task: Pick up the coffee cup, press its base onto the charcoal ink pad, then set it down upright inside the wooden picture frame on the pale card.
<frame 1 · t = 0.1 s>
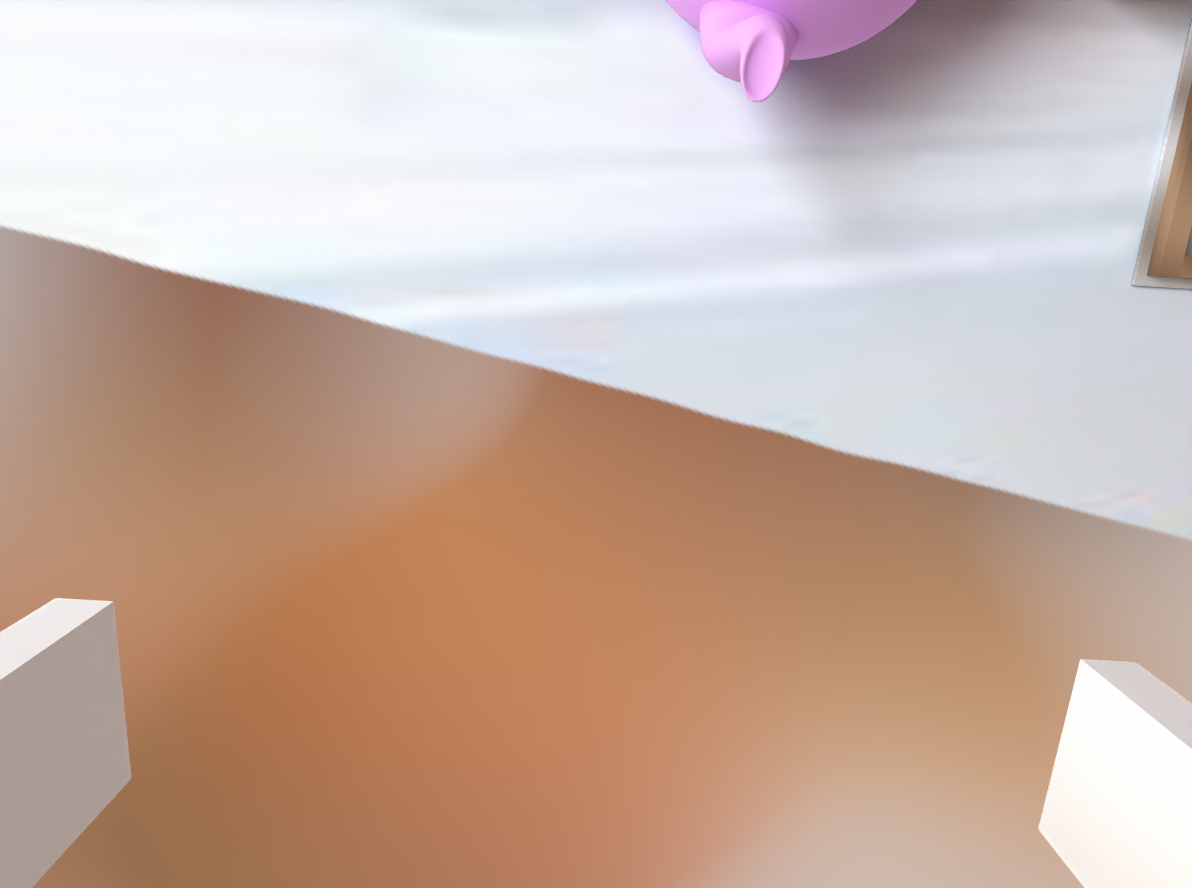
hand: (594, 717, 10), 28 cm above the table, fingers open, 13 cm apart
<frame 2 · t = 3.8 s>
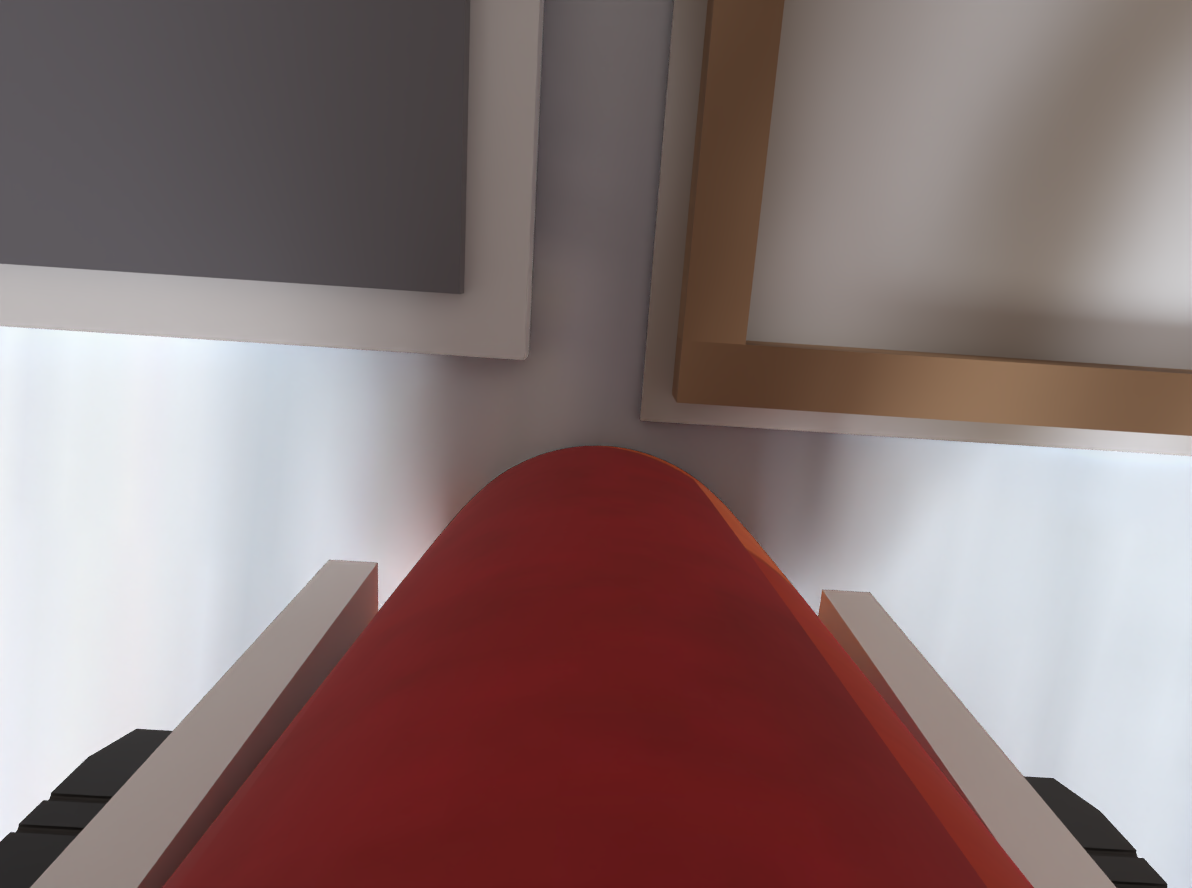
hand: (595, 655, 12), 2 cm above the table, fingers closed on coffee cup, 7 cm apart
coffee cup: (598, 594, 14), on the table, touching gripper
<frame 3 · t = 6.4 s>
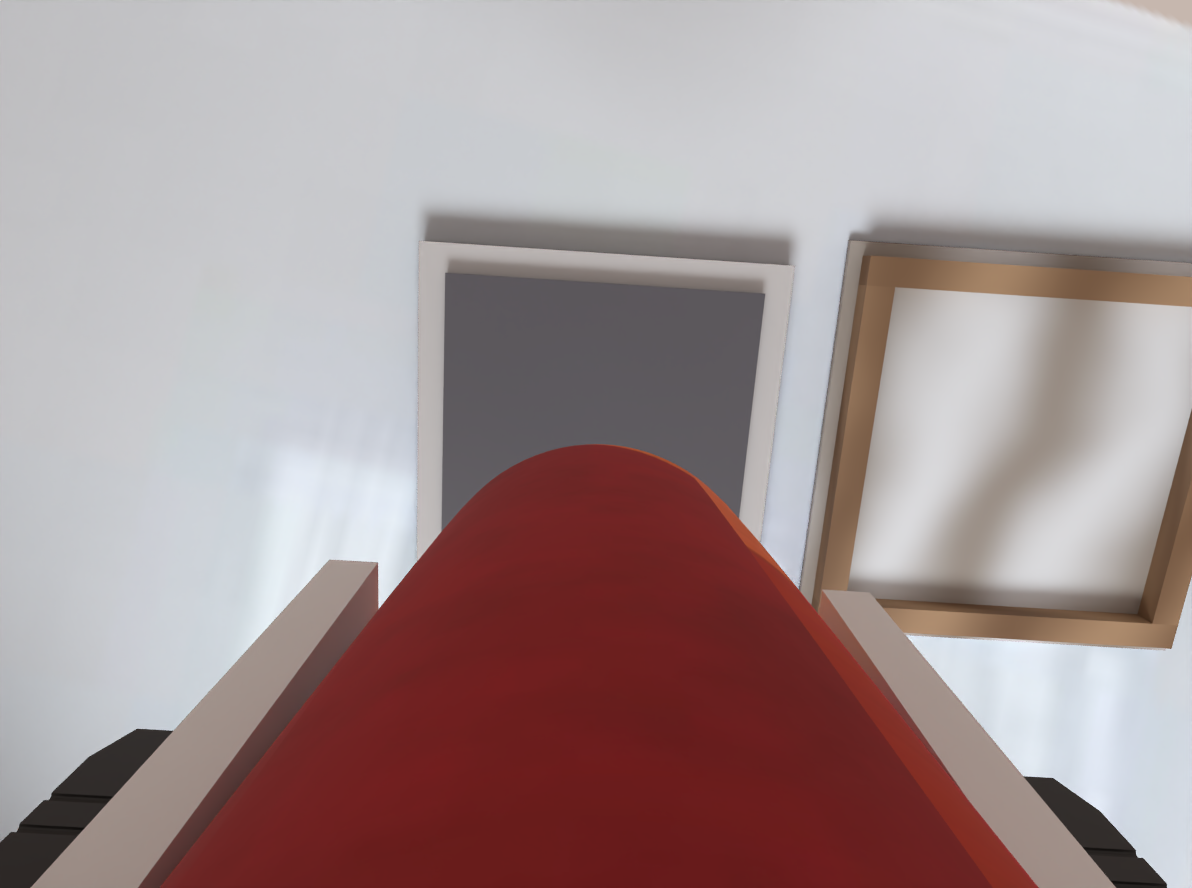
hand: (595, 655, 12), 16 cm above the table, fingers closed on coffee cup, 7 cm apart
coffee cup: (598, 593, 14), point 14 cm above the table, touching gripper
wooden picture frame: (1015, 458, 28), on the table
ink pad: (595, 431, 27), on the table
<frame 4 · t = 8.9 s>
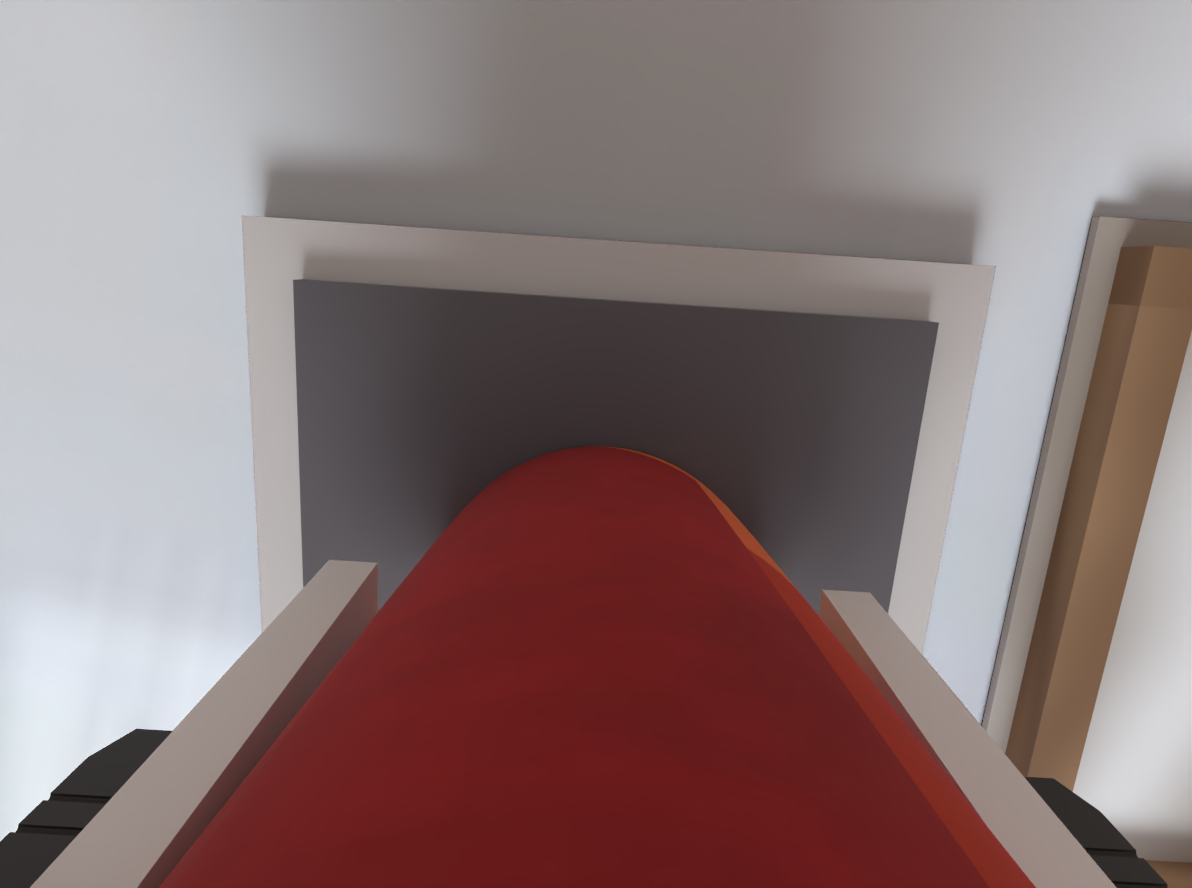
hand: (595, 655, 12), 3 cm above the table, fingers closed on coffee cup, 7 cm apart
coffee cup: (599, 595, 14), point 1 cm above the table, touching gripper, ink pad
ink pad: (596, 572, 15), on the table
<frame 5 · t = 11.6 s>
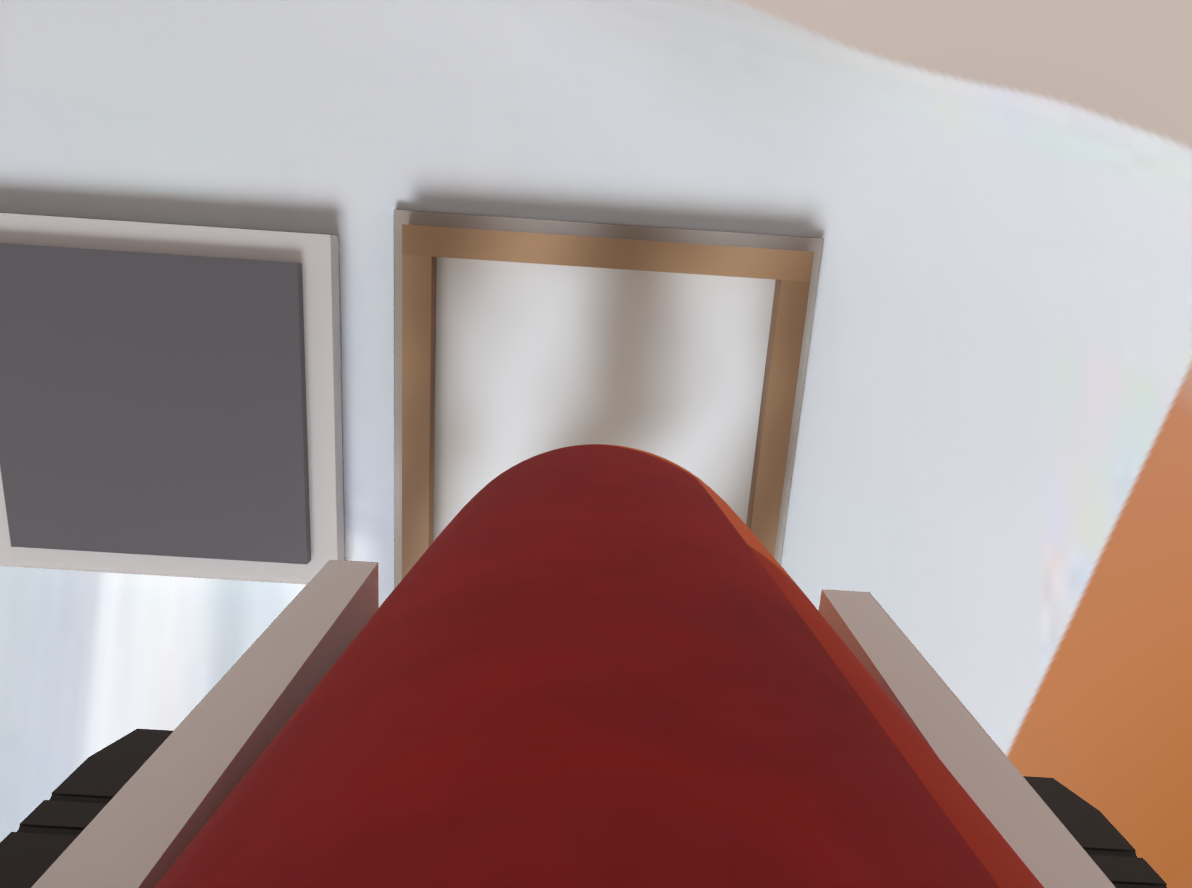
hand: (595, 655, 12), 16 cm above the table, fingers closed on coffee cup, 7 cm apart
coffee cup: (600, 593, 14), point 14 cm above the table, touching gripper
wooden picture frame: (595, 432, 27), on the table
ink pad: (166, 405, 27), on the table
when the fingers open (3 cm above the table, at t = 14.1 s): coffee cup drops 1 cm, resting on wooden picture frame.
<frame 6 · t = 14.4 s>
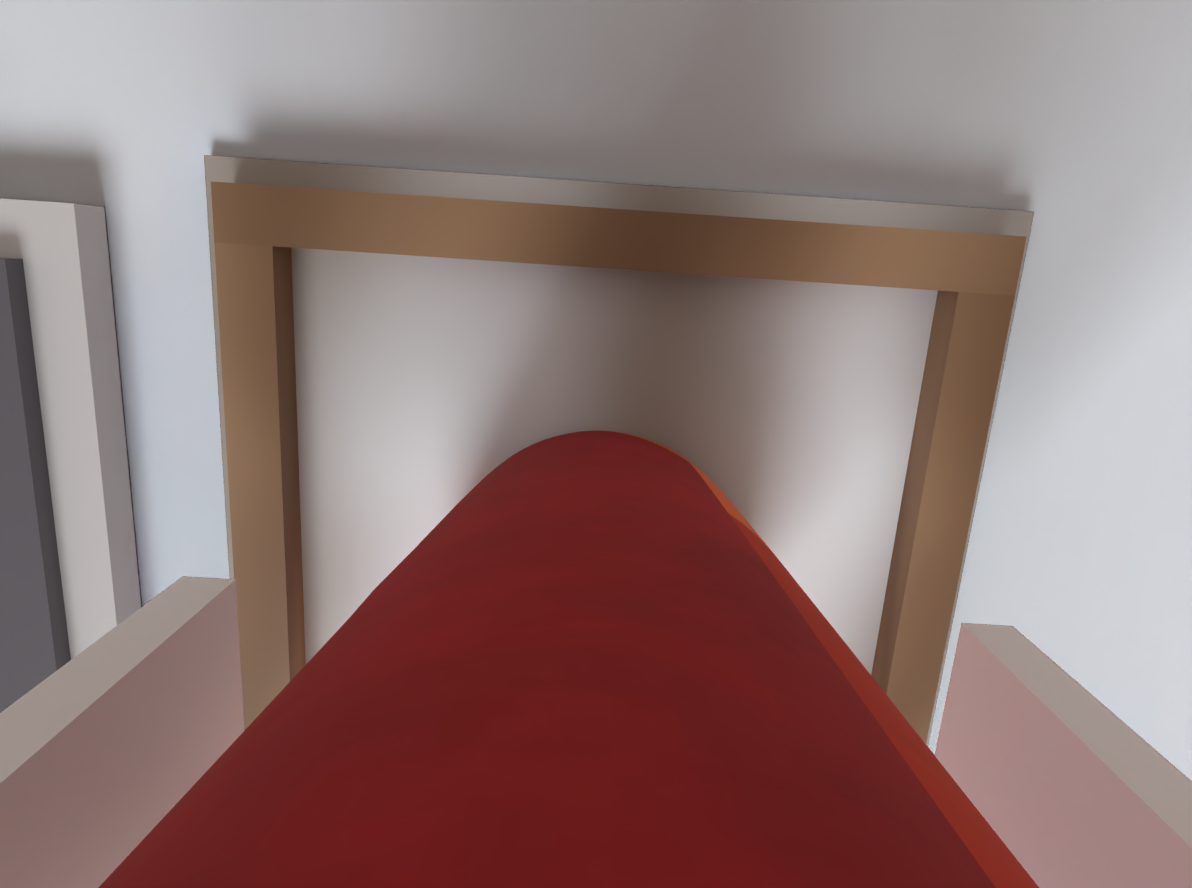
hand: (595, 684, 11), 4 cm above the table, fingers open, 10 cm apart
coffee cup: (600, 569, 15), resting on wooden picture frame
wooden picture frame: (595, 565, 15), on the table
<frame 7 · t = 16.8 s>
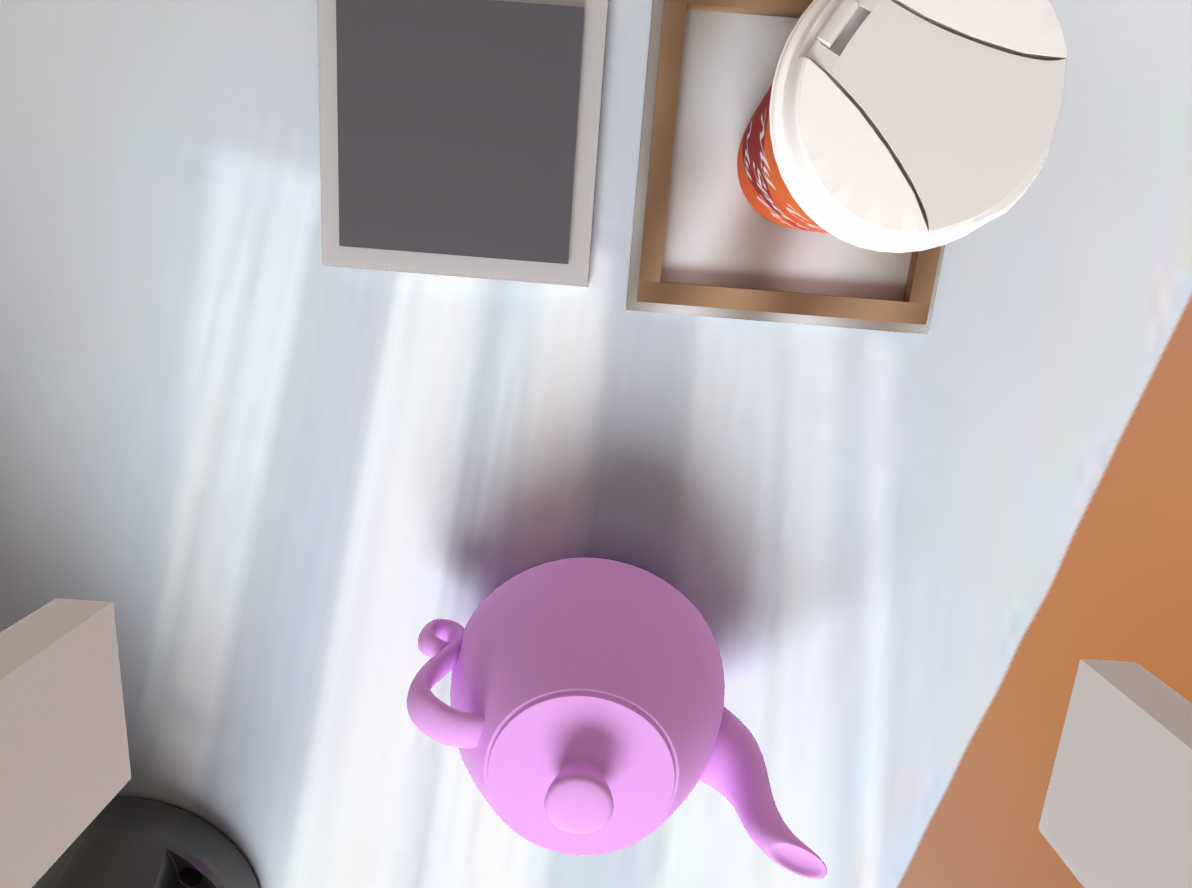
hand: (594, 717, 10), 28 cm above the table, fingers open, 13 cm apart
coffee cup: (800, 163, 34), resting on wooden picture frame
wooden picture frame: (798, 162, 34), on the table
teapot: (605, 653, 42), on the table
ink pad: (461, 135, 34), on the table
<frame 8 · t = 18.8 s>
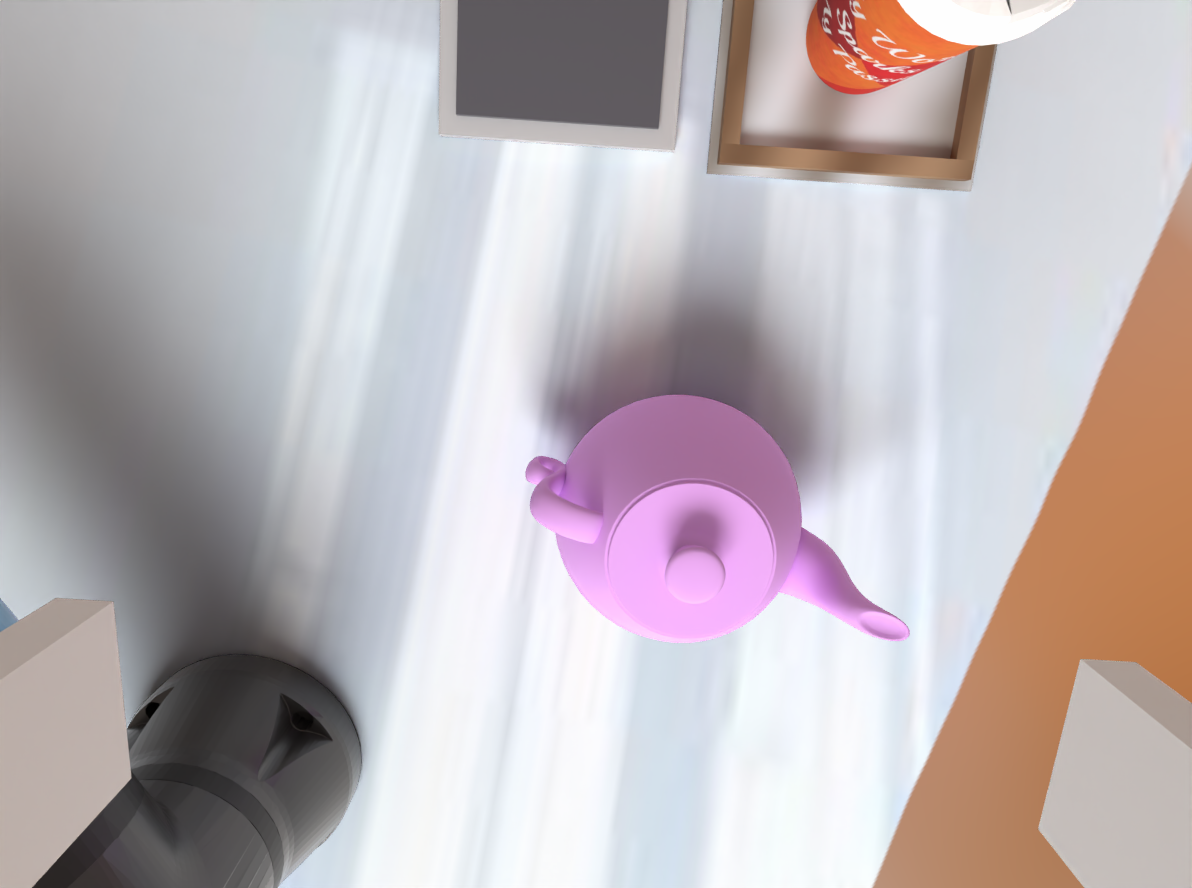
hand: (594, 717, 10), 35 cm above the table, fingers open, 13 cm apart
coffee cup: (860, 37, 39), resting on wooden picture frame
wooden picture frame: (858, 36, 39), on the table
teapot: (683, 500, 46), on the table
ink pad: (563, 15, 39), on the table
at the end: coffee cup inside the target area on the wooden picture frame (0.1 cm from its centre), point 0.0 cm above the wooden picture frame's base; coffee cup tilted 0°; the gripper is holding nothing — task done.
